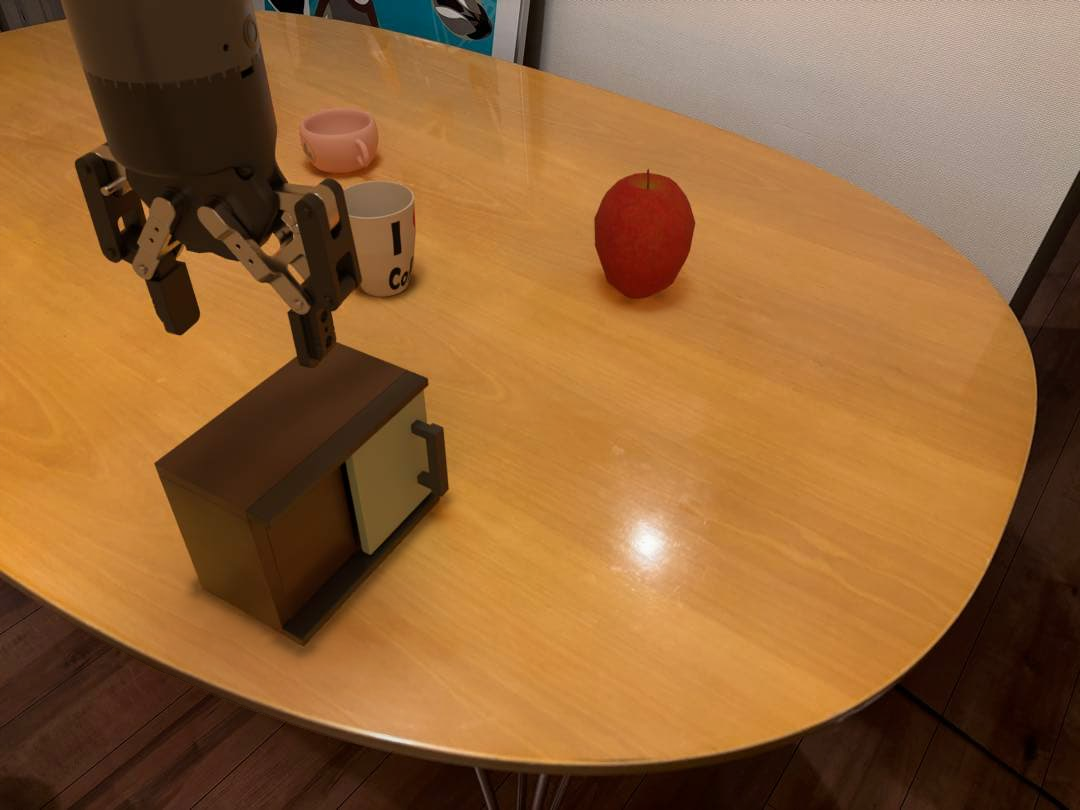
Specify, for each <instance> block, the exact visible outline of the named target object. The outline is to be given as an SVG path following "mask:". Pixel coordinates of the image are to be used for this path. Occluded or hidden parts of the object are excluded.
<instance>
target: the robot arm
mask: <svg viewBox="0 0 1080 810" xmlns="http://www.w3.org/2000/svg"><path fill="white" fill-rule="evenodd" d="M60 2H61V6H62V10H63V13H64V15H65V19H66V22H67V25H68V28H69V31H70V34H71V37H72V40H73V43H74V46H75V49H76V52H77V55H78V58H79V61H80V64H81V68H82V71H83V73H84V77H85V79H86V82H87V85H88V89H89V91H90V94H91V97H92V100H93V104H94V106H95V110H96V113H97V116H98V119H99V121H100V125H101V128H102V131H103V134H104V136H105V140H106V142H105V143H102V144H101V145H99V146H97V147H96V148H93V149H92V150H90V151H88V152H87V153H85V154H83V155H82V156H79V157H78V158H76V159H75V161H74V168H75V171H76V174H77V177H78V181H79V184H80V187H81V190H82V194H83V197H84V200H85V203H86V206H87V209H88V212H89V216H90V219H91V221H92V225H93V228H94V231H95V232H94V233H95V235H96V238H97V242H98V245H99V247H100V251H101V253H102V255H103V256H104V257H105V259H107V260H108V261H109V262H110V263H111V262H112V263H114V264H119V263H121V262H122V261H123V262H125V263H128V264H129V265H132V269H133V271H134V272H135V274H136V275H137V276H138V277H140V278H141V279H142V280H144V282H145V285H146V287H147V290H148V294H149V296H150V299H151V301H152V305H153V308H154V311H155V314H156V316H157V317H158V319H159V320H160V322H161V323H162V325H163V327H164V330H165V332H166V333H168V334H171V335H175V336H179V337H180V336H181V337H182V336H183V335H184V334H185V333H186V332H188V331H189V330H190V329H191V328H192V327H194V325H196V324H197V323H198V322H199V320H200V317H201V310H200V306H199V302H198V299H197V297H196V293H195V290H194V285H193V283H192V279H191V277H190V273H189V270H188V266H187V263H186V261H181V260H177V259H178V258H179V257H180V256H181V255H182V253H183V251H184V249H186V251H187V252H191V253H196V254H214V255H216V256H218V257H220V258H222V259H225V260H229V261H233V262H238V263H239V262H240V263H241V264H242V265H243V267H244V268H245V269H246V270H247V271H248V273H249V274H250V275H251V276H252V277H253V278H254V279H255V280H256V281H257V282H259V283H261V284H269V286H271V288H272V289H273V290H274V292H276V293H277V295H279V297H280V298H281V299H282V300H283V302H284V303H285V304H286V305H287V306H288V307H289V308H290V309H289V310H288V311H287V313H286V314H287V317H288V322H289V326H290V331H291V336H292V340H293V344H294V349H295V353H296V354H295V355H296V356H297V358H298V363H299V365H300V366H304V367H308V368H312V369H313V368H315V367H316V366H317V365H318V364H319V363H320V362H321V361H322V360H323V359H324V357H325V356H326V355H327V354H328V353H329V352H330V351H331V350H332V349H333V347H334V346H335V343H336V342H337V335H336V328H335V325H334V324H335V322H334V318H333V312H335V311H337V310H338V308H340V307H341V306H342V304H343V303H344V301H345V300H347V298H349V297H350V296H351V294H352V293H353V292H354V291H355V290H357V289H358V288H359V287H360V284H361V283H362V276H361V272H360V267H359V262H358V257H357V253H356V248H355V243H354V238H353V234H352V229H351V224H350V220H349V215H348V210H347V205H346V201H345V196H344V191H343V189H344V188H343V187H342V185H341V184H340V182H339V181H338V180H336V179H334V178H331V177H326V178H323V180H322V181H320V182H319V183H318V184H317V185H305V184H299V183H298V184H296V183H289V181H288V180H287V178H286V177H285V175H284V174H283V172H282V170H281V169H280V166H279V164H278V162H277V158H276V150H277V149H276V146H277V138H278V123H277V119H276V114H275V109H274V103H273V99H272V95H271V93H272V92H271V89H270V84H269V83H270V82H269V79H268V73H267V69H266V68H267V67H266V64H265V59H264V58H265V57H264V53H263V49H262V44H261V38H260V33H259V28H258V22H257V18H256V13H255V8H254V3H253V2H254V1H253V0H60ZM142 202H143V203H144V205H145V206H146V207H147V208H148V214H149V215H148V217H147V218H146V213H145V210H144V209H145V208H144V206H143V203H142ZM120 218H121V220H122V224H123V226H124V228H123V229H121V230H120V227H119V220H120ZM272 235H274V236H275V238H277V240H278V243H279V248H278V250H277V251H275V252H274V253H273V254H272V255H269V254H267V253H266V252H265V251H264V250H263V248H262V247H263V246H264V245H266V243H267V242H268V241H269V240H270V239H271V236H272ZM289 265H290V266H291V267H292V268H293V269H294V270H295V271H296V272H297V274H298V275H299V276H300V277H301V279H302V280H303V281H302V282H301V283H300V282H299V281H298V280H297V279H296V277H295V276H294V275H293V274H292V273H291V271H290V270H289V268H288V267H289Z"/></svg>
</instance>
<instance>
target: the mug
mask: <svg viewBox="0 0 1080 810" xmlns="http://www.w3.org/2000/svg"><path fill="white" fill-rule="evenodd" d="M298 128H299V130H298V131H299V132H298V133H299V140H300V144H301V148H302V151H303V153H304V154H305V156H306V157H307V159H308V160H309V162H310V164H311V165H313V166H314V167H315V168H316V169H317V170H320V171H322V172H326V173H331V174H332V173H333V174H345V173H352V172H353V173H354V172H356V171H360V170H362V169H364V168H367V167H368V166H369V165H370V164H371V163H372V161H373V160H374V158H375V156H376V153H377V149H378V146H379V131H378V126H377V123H376V120H375V118H374V117H373V116H372V115H371V114H370V113H369V112H367V111H366V110H362V109H359V108H354V107H331V108H324V109H320V110H318V111H315V112H312V113H310V114H308V115H307V116H305V117H304V118H303V119H302V120H301V122H300V124H299V127H298Z"/></svg>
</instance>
